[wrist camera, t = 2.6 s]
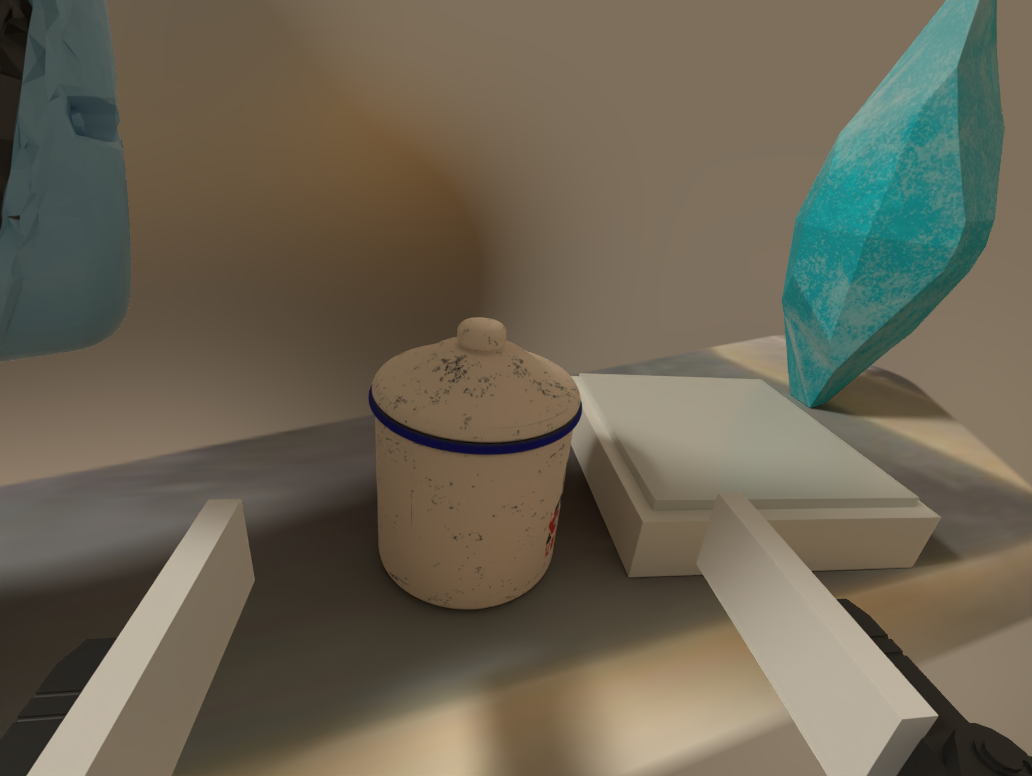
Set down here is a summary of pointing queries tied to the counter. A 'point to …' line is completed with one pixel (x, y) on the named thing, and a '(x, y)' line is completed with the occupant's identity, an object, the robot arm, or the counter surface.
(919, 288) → the crystal
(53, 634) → the counter surface
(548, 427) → the teacup with lid
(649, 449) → the plinth
